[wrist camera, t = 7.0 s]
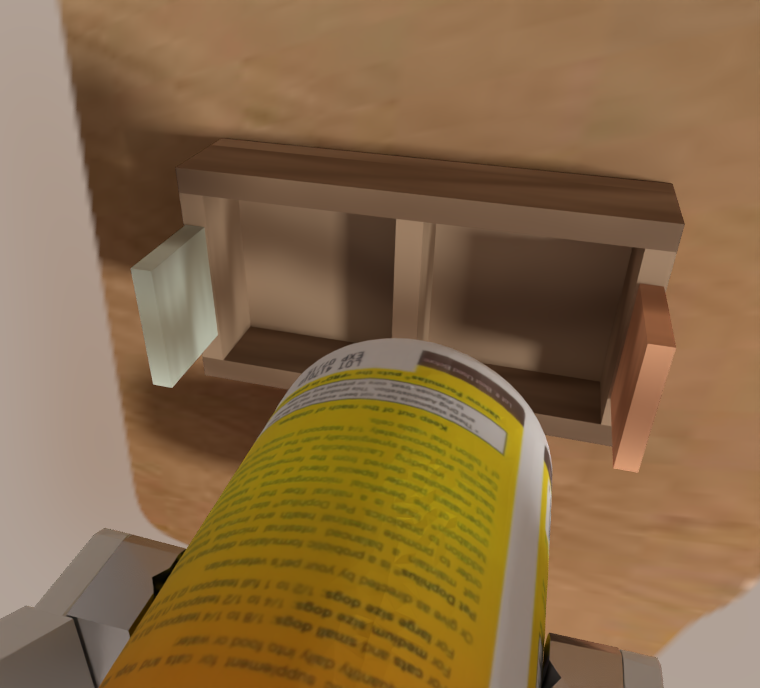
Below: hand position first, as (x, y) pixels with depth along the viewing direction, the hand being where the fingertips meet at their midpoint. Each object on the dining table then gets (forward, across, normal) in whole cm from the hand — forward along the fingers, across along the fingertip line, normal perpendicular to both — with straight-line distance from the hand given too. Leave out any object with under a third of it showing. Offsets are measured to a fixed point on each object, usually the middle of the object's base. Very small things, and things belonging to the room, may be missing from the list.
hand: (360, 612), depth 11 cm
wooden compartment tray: (+20, +3, +4) cm, 21 cm away
